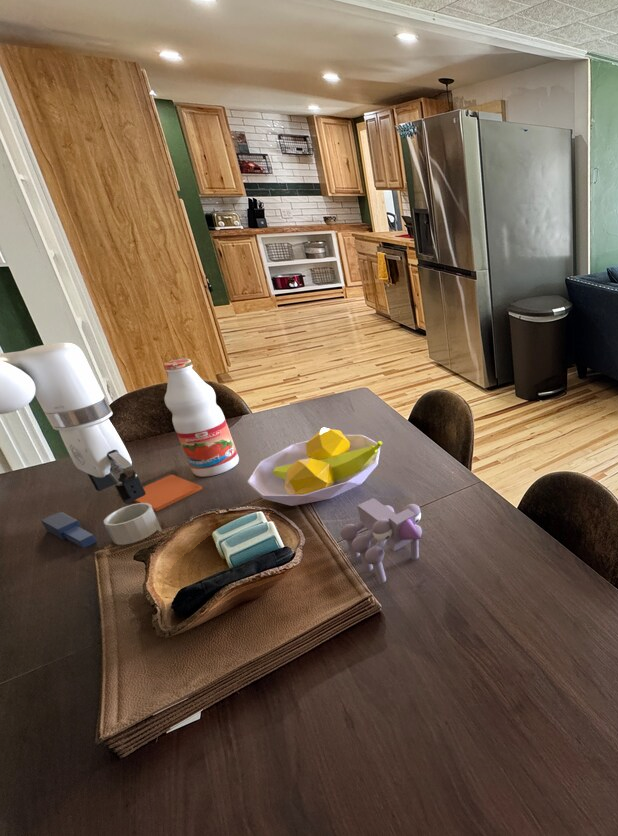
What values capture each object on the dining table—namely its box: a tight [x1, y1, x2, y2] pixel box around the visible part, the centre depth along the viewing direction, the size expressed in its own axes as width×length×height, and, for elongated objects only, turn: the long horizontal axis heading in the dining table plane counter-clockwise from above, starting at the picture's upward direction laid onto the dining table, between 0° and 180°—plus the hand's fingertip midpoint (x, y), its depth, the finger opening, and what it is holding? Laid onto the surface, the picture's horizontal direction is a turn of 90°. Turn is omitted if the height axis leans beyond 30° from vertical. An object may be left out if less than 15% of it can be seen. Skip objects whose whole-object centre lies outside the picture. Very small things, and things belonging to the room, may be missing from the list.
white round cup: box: [103, 503, 163, 546], centre depth 93 cm, size 7×7×6 cm
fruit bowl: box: [247, 427, 384, 507], centre depth 109 cm, size 28×27×11 cm
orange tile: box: [133, 474, 203, 512], centre depth 107 cm, size 9×12×1 cm
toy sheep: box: [339, 497, 423, 585], centre depth 84 cm, size 20×11×14 cm, turn 53°
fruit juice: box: [163, 358, 240, 478], centre depth 112 cm, size 9×9×28 cm
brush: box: [40, 511, 98, 549], centre depth 94 cm, size 3×14×3 cm, turn 66°
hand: (121, 492), depth 90 cm, fingers open, 9 cm apart
